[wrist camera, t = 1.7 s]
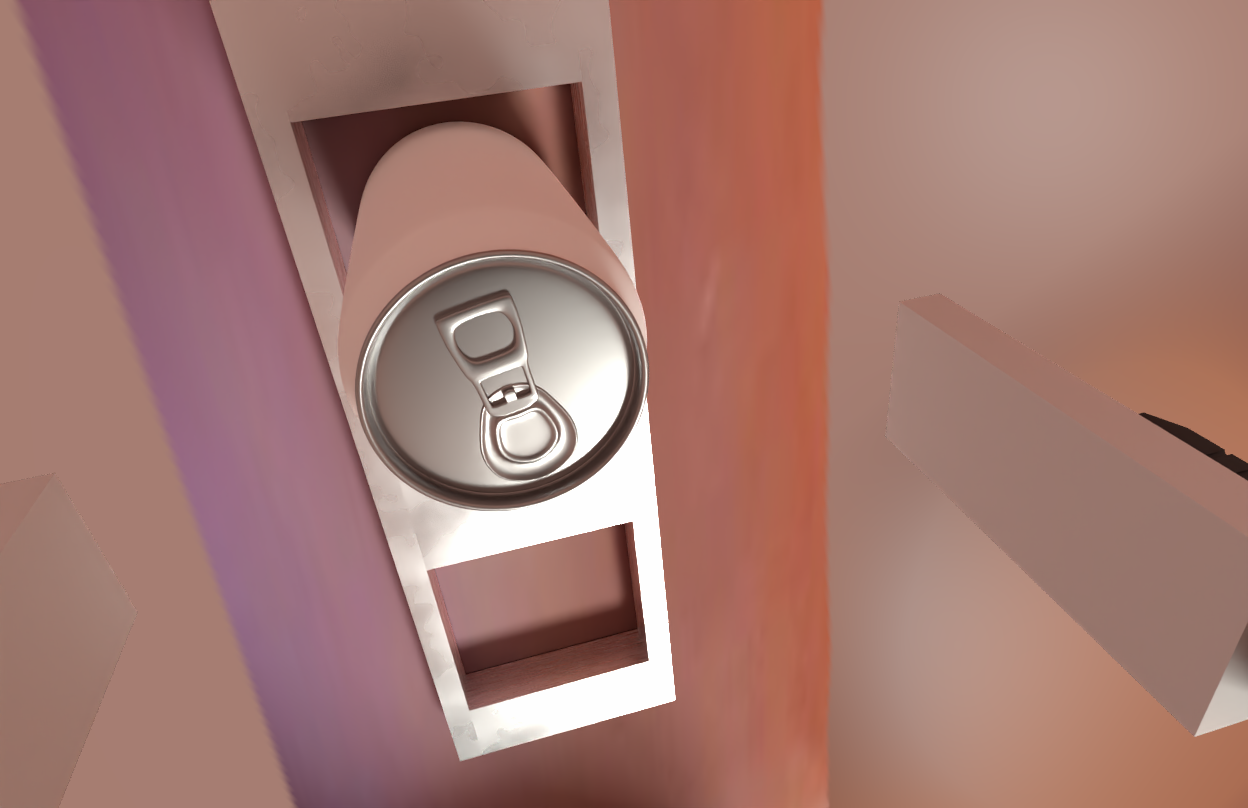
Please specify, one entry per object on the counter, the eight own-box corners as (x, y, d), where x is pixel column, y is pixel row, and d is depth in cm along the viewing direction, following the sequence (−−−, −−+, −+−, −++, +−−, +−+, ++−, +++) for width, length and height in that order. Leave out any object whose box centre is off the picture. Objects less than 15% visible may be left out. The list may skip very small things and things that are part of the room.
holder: (662, 667, 37) (675, 700, 36) (457, 723, 36) (460, 761, 34) (588, -43, 22) (604, -44, 20) (225, -2, 20) (209, 0, 19)
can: (411, 342, 26) (417, 572, 16) (321, 158, 23) (259, 303, 13) (586, 278, 27) (700, 462, 17) (525, 88, 23) (621, 174, 13)
